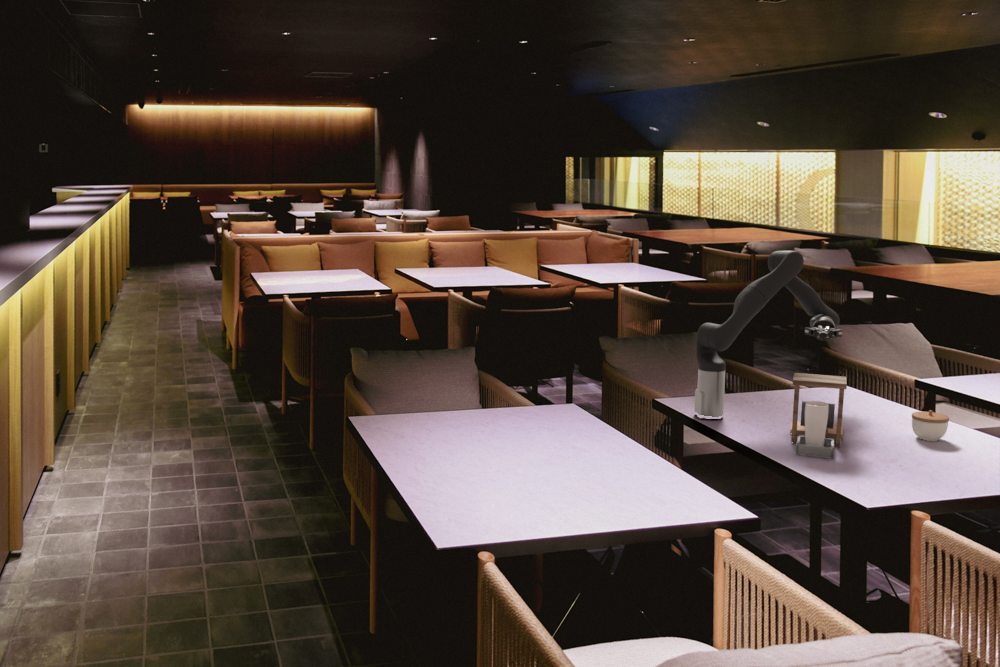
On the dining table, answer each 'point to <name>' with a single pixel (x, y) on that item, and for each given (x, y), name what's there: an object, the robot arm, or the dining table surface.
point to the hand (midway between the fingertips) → (823, 335)
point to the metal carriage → (828, 443)
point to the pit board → (829, 433)
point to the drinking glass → (815, 422)
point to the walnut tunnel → (818, 381)
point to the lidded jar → (929, 425)
